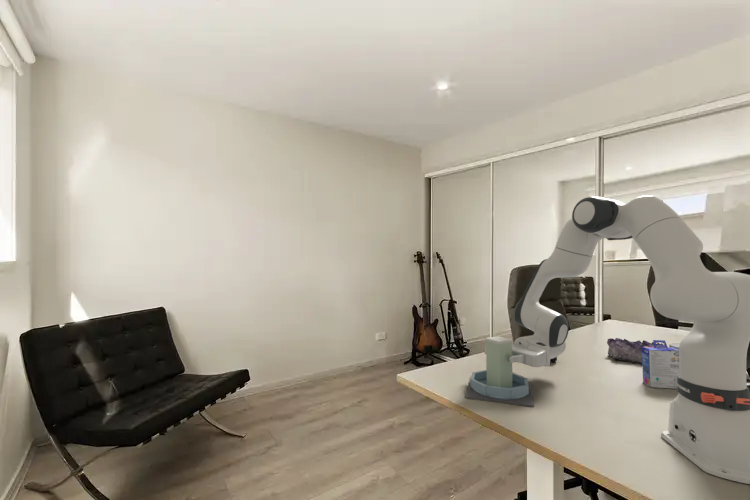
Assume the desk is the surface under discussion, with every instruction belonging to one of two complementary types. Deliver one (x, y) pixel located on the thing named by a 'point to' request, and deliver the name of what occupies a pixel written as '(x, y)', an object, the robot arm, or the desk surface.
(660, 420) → the desk surface
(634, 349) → the geode
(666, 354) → the ink cartridge box
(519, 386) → the bowl
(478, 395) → the mat
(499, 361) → the tea tin
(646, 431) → the desk surface
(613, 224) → the robot arm
